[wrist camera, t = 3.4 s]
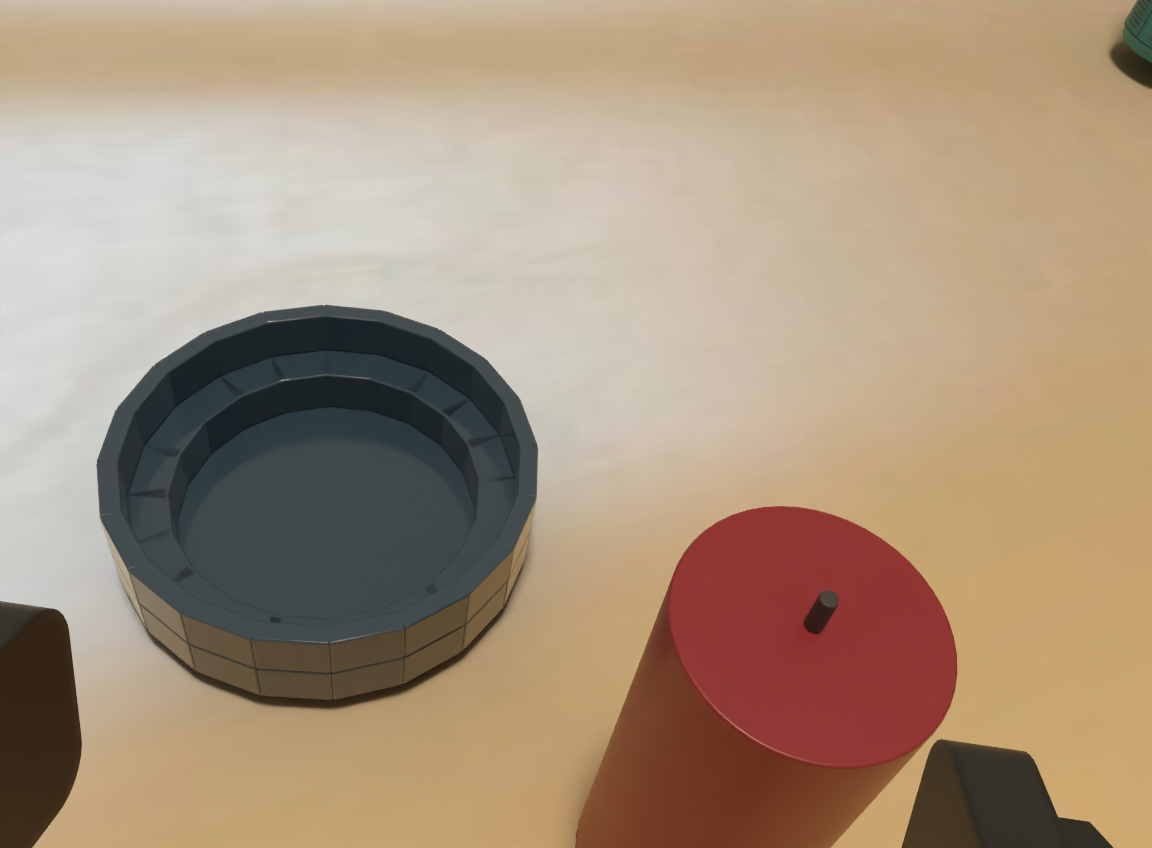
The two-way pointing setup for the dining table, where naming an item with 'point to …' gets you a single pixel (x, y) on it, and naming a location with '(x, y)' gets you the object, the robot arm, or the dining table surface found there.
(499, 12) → the dining table surface
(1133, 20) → the beverage bottle
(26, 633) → the robot arm
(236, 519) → the bowl
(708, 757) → the candle
